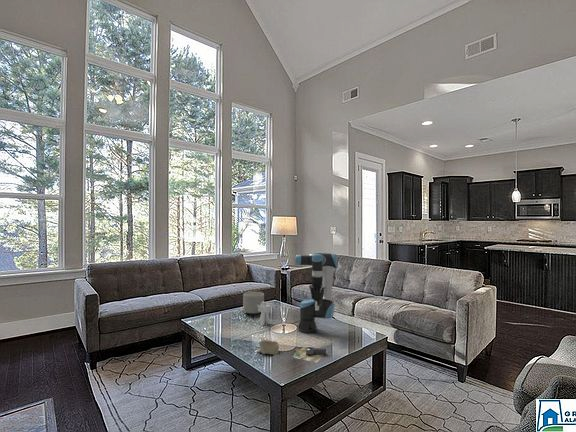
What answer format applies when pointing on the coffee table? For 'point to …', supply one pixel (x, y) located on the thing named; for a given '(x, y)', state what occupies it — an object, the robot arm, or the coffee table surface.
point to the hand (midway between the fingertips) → (317, 309)
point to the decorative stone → (268, 347)
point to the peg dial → (314, 351)
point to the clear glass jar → (264, 313)
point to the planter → (252, 302)
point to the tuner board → (307, 356)
